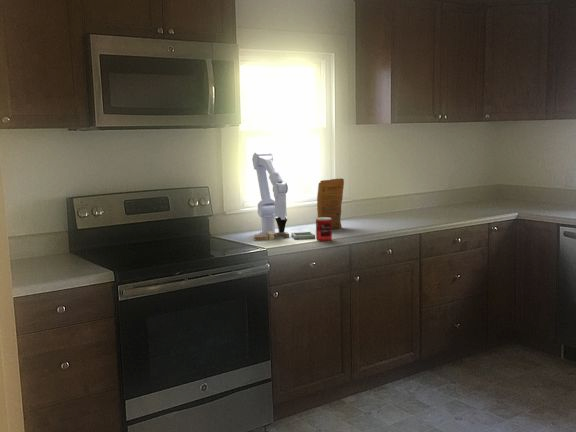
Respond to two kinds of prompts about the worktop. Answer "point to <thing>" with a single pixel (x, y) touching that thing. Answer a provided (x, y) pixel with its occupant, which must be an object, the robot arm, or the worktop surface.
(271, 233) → the block
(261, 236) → the brown wooden board
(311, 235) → the tray
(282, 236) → the socket block
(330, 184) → the pancake mix bag
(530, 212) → the worktop surface
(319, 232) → the canned food
